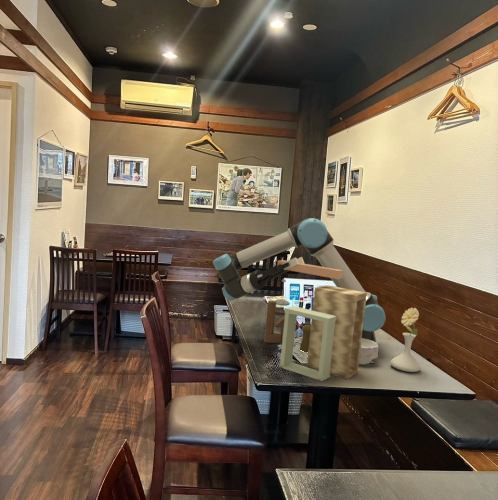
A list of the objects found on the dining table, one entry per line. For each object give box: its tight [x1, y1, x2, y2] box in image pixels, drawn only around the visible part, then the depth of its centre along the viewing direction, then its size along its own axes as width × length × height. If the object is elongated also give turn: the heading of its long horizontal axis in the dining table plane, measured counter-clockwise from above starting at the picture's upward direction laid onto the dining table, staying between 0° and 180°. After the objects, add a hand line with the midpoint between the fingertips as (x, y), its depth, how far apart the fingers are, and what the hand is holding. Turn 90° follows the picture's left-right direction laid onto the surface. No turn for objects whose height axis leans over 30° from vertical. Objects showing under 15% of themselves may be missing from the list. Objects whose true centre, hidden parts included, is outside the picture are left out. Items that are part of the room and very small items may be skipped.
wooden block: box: [263, 300, 285, 345], centre depth 194 cm, size 4×11×18 cm, turn 95°
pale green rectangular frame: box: [278, 305, 337, 382], centre depth 161 cm, size 18×6×22 cm, turn 54°
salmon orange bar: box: [276, 259, 343, 279], centre depth 172 cm, size 26×4×3 cm, turn 54°
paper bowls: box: [359, 338, 379, 365], centre depth 180 cm, size 15×15×8 cm
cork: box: [299, 324, 311, 352], centre depth 186 cm, size 6×6×11 cm
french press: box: [273, 278, 291, 334], centre depth 212 cm, size 10×12×25 cm
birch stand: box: [306, 285, 367, 380], centre depth 166 cm, size 16×10×30 cm, turn 54°
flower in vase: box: [390, 307, 422, 373], centre depth 173 cm, size 13×11×25 cm
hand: (299, 260), depth 174 cm, fingers closed on salmon orange bar, 4 cm apart
